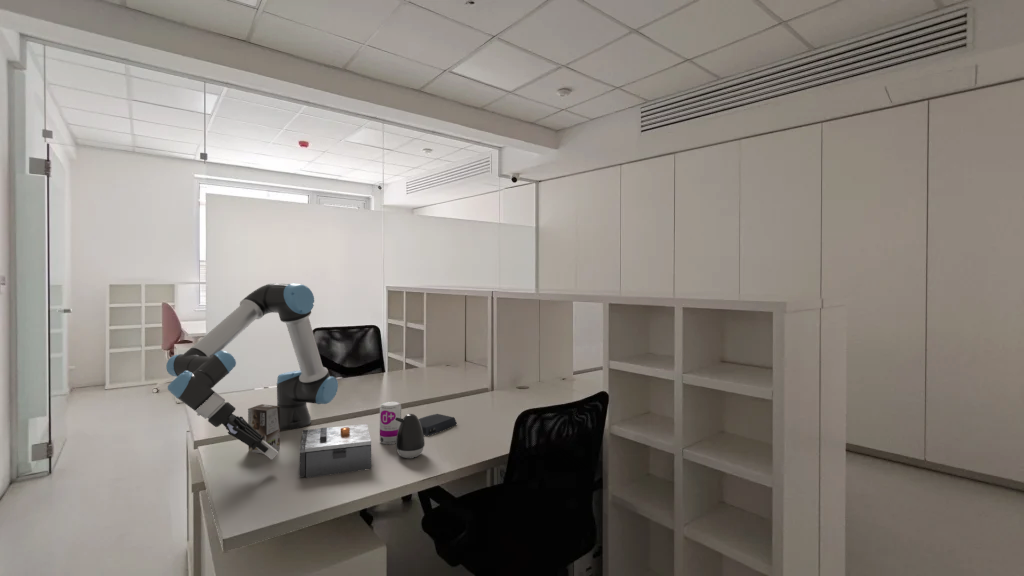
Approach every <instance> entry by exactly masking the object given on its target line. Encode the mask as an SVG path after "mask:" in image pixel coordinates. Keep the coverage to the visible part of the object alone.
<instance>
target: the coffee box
mask: <svg viewBox="0 0 1024 576" xmlns="http://www.w3.org/2000/svg"><path fill="white" fill-rule="evenodd" d="M247 415H248V416H247V423H248V424H249V425H250V426H252V427H253V428H254V429H255V430H256V431H257V432H258V433H259V434H260V435H261V436H262V437H263V436H264V437H265V438H264V439H263V440H264V441H265V442H267V443H268V444H269V445H271V446H272V447H273V448H274V449H276V450H277V451H278V450H279V451H280V449H281V434H280V433H281V429H280V406H277V405H272V404H270V405H269V404H258V405H256V406H252V407H249V408H248V409H247ZM248 452H249V453H256V454H263V453H262V452H261V451H260V450H258V449H257V448H255V449H254V450H253V449H252V448H251V447H250V446H248ZM263 455H264V454H263Z"/></svg>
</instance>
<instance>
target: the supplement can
mask: <svg viewBox="0 0 1024 576" xmlns="http://www.w3.org/2000/svg"><path fill="white" fill-rule="evenodd" d="M396 417H397V418H402V405H401V403H400V402H399V401H394V400H392V401H391V400H388V401H385V402H382V403H381V405H380V406H379V442H380V443H381V444H382V443H383V444H382V445H387V444H389V445H396V444H395V443H396V438H397V433H398V429H399V426H400V424H401V422H399V421H396V420H395V419H396Z"/></svg>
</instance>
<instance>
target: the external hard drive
mask: <svg viewBox="0 0 1024 576" xmlns="http://www.w3.org/2000/svg"><path fill="white" fill-rule="evenodd" d="M418 419H419V421H420V423H421V426H422V429H423V434H424V435H425V436H424V437H429V436H428V435H430V436H432V434H433V435H435V433H436V434H439V433H440V431H441V432H443V430H444V431H446V430H448V428H449V429H451V428H453V427H455V426H457V425H458V424H457V420H456V417H454V416H449V415H445V414H439V413H435V414H430V415H426V416H423V417H421V418H418ZM456 424H457V425H456ZM454 425H455V426H454ZM452 426H453V427H452ZM450 427H451V428H450ZM445 429H446V430H445Z"/></svg>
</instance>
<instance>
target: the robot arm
mask: <svg viewBox="0 0 1024 576" xmlns="http://www.w3.org/2000/svg"><path fill="white" fill-rule="evenodd" d="M314 303H315V296H314V293H313V292H312V290H311V288H309V287H308V286H307V285H304V284H302V283H301V284H300V283H295V282H294V283H276V282H275V283H267V284H265V285H262V286H260V287H258V288H257V289H255V290H253V291H252V292H250V293H249V294H248V295H246V296H245V297H244V298H243V299H242V300H241V301H239V306H237V308H236V309H234V310H233V311H232V312H231V313H230V314H228V315H227V316H226V317H225V318H224V319H222V320H221V321H220V322H219V323H218V324H216V326H215V327H213V328H212V329H211V330H210V331H208V333H206V334H205V335H204V336H203V337H202V338H201V339H200V340H198V341H197V342H196V343H195V344H194V345H192V347H190V348H189V349H188V350H187V351H185V352H184V353H178V354H175V355H172V356H171V357H170V358H169V359H168V360H167V362H166V367H165V368H166V369H165V370H166V371H167V374H169V375H170V376H172V377H175V378H174V379H172V381H171V382H170V383H169V384H168V385H167V390H168V391H169V393H170V394H172V395H173V396H174V397H175V398H176V399H178V400H180V402H182V403H184V404H185V405H186V406H187V407H189V408H190V409H192V410H193V411H194V412H195V413H196V415H197V416H198V417H200V416H201V417H203V419H207V422H208V423H210V424H211V425H212V426H213V427H215V428H218V427H220V426H221V425H223V426H224V428H225V429H226V430H227V434H228V435H229V436H232V437H234V438H236V439H237V440H239V441H240V442H242V443H244V444H245V445H247V446H248V447H249V446H250V447H251V448H252V449H253V450H254V449H255V448H257V449H258V450H260V451H261V452H262V453H263V455H265V456H266V457H267V458H269V459H270V460H273V459H274V458H275V457H276V456H277V455H278V454H279V451H278V450H276V449H274V448H273V447H272V446H271V445H269V444H268V443H267V442H265V441H264V440H263V439H264V438H265V437H264V436H263V437H262V436H261V435H260V434H259V433H258V432H257V431H256V430H255V429H254V428H253V427H252V426H250V425H249V424H248V421H246V420H245V419H244V418H243V416H239V415H236V414H234V412H235V411H236V407H235V406H234V405H232V404H231V403H230V402H229V401H227V402H225V401H226V399H225V398H224V397H222V396H221V395H220V394H219V393H217V392H216V391H215V390H213V388H214V387H215V386H216V385H217V384H218V383H219V382H220V381H221V380H223V379H224V378H225V377H226V376H227V375H229V374H231V373H230V372H231V371H232V370H233V369H234V368H235V367H236V365H237V361H236V359H235V356H233V354H232V353H229V352H228V351H226V350H224V349H225V348H226V347H227V346H229V344H230V343H232V342H233V341H234V340H235V339H236V338H237V337H238V336H239V335H240V334H242V332H243V331H245V330H246V329H247V328H248V327H249V326H250V325H251V324H252V323H253V322H254V321H256V320H260V319H261V318H263V317H264V316H265V315H267V314H272V313H276V314H277V313H278V317H279V319H280V321H281V322H282V323H284V324H285V326H286V327H287V331H288V334H289V338H290V341H291V344H292V347H293V349H294V354H295V356H296V361H297V364H298V367H299V370H293V371H286V372H283V373H280V374H278V375H277V379H276V380H277V382H276V406H280V430H294V429H295V430H296V429H301V428H303V427H306V426H308V425H310V424H311V422H312V419H311V414H310V412H309V408H308V406H307V404H317V405H326V404H329V403H331V402H332V401H333V400H334V398H335V397H336V395H337V392H338V388H339V383H338V379H337V378H336V377H335V376H333V375H331V376H330V373H329V370H328V368H327V367H325V366H324V365H323V363H322V359H321V355H320V351H319V349H318V345H317V341H316V338H315V335H314V331H313V328H312V324H311V322H310V316H311V314H312V311H313V308H314V306H315V305H314ZM262 453H261V454H262Z"/></svg>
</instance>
